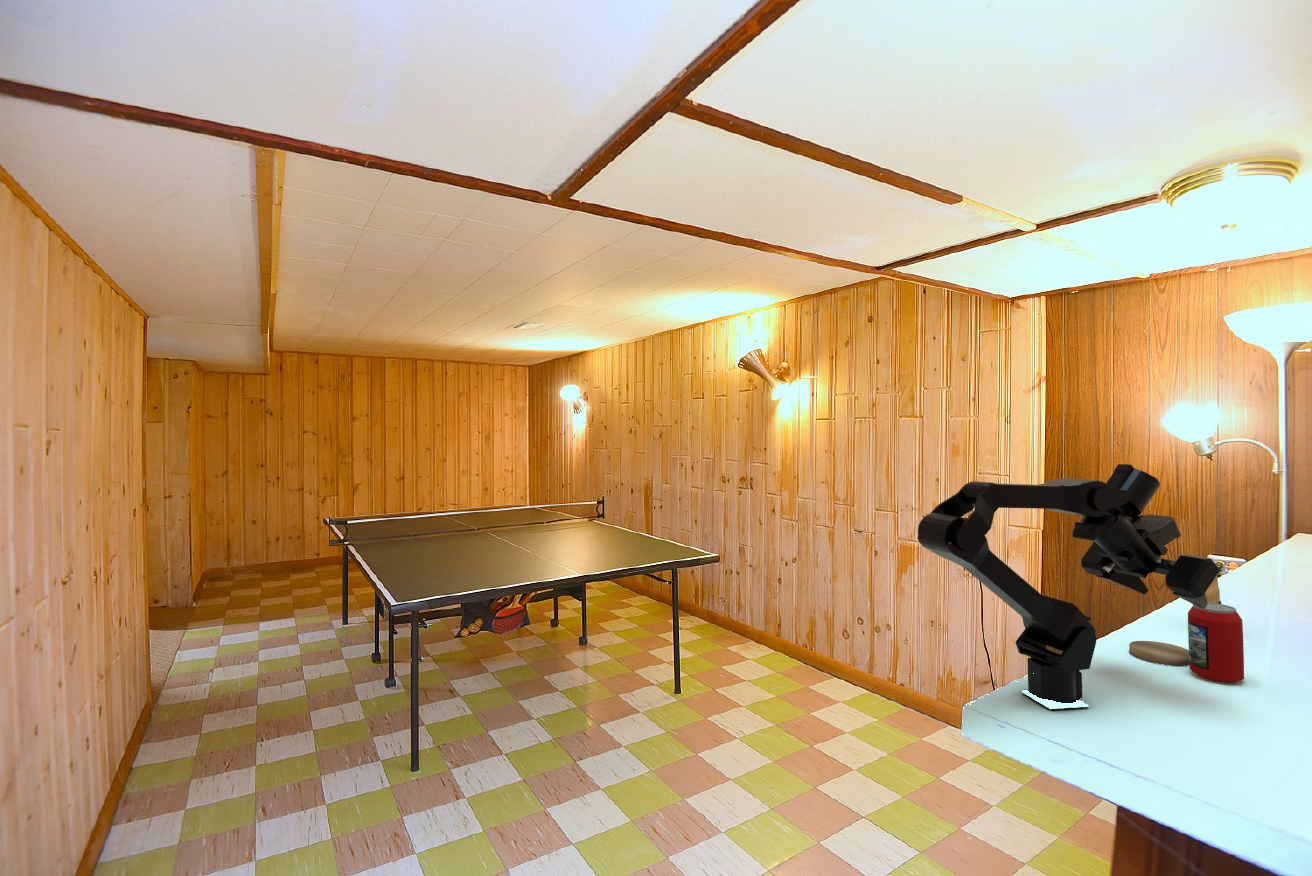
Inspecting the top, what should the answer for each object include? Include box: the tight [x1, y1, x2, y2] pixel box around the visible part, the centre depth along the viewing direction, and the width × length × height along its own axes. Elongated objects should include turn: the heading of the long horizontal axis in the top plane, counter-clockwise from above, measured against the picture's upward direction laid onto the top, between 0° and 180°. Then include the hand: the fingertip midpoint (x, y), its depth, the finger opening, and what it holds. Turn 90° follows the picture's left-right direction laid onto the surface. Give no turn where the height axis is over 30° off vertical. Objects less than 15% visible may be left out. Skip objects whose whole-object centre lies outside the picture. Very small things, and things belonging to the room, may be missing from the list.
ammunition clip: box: [1205, 575, 1222, 604], centre depth 125 cm, size 11×2×12 cm, turn 123°
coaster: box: [1128, 640, 1189, 667], centre depth 109 cm, size 9×9×2 cm
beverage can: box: [1187, 603, 1245, 684], centre depth 100 cm, size 7×7×12 cm
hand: (1174, 598), depth 98 cm, fingers open, 9 cm apart
